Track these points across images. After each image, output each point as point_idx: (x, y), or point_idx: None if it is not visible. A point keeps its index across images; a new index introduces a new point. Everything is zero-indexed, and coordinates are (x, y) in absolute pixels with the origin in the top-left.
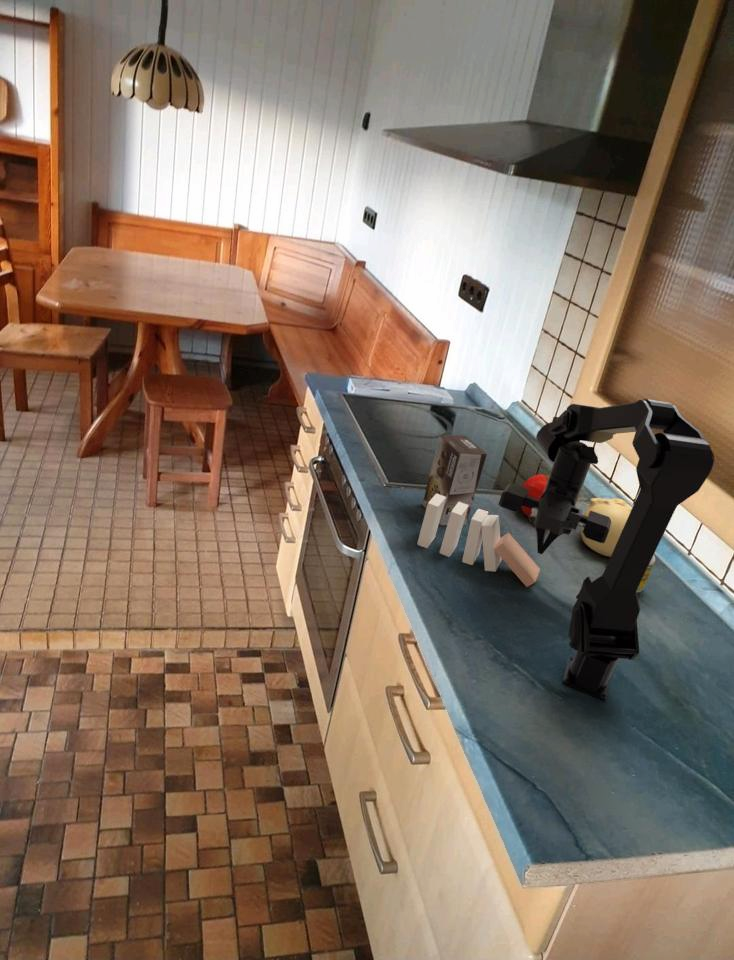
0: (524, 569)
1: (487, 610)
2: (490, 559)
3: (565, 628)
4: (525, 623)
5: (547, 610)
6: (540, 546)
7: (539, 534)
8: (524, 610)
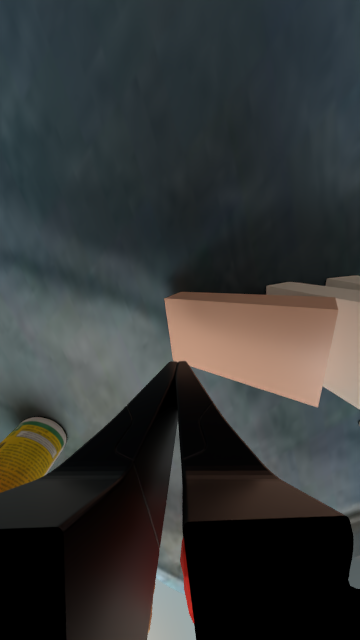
0: (202, 300)
1: (242, 55)
2: (307, 288)
3: (41, 181)
4: (124, 97)
5: (107, 229)
6: (181, 375)
7: (207, 421)
8: (151, 173)
